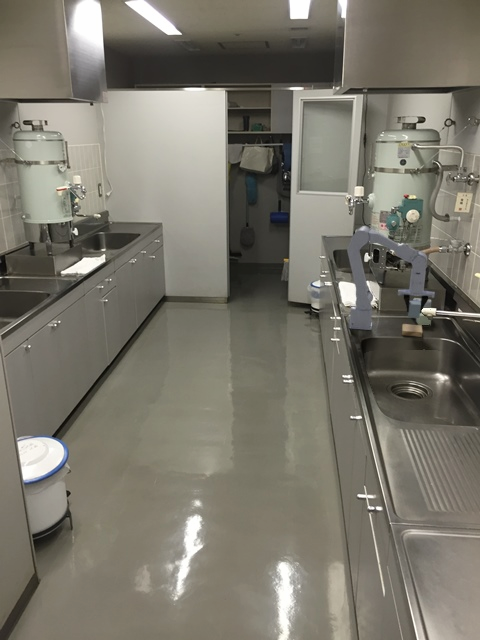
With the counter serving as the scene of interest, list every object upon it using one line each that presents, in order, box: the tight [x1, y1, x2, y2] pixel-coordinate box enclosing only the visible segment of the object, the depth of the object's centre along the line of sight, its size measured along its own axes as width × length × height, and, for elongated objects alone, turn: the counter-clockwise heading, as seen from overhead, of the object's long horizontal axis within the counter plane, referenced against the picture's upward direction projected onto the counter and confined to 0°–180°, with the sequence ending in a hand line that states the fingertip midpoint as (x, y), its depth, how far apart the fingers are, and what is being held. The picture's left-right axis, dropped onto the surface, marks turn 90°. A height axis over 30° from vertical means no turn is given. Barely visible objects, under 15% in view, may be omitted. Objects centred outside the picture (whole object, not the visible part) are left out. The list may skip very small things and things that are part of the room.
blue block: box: [407, 300, 421, 319], centre depth 221 cm, size 4×4×6 cm
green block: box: [415, 313, 432, 325], centre depth 233 cm, size 5×6×5 cm
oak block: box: [401, 323, 423, 338], centre depth 224 cm, size 8×8×2 cm
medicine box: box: [412, 297, 432, 308], centre depth 239 cm, size 8×4×9 cm, turn 65°
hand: (414, 312), depth 221 cm, fingers closed on blue block, 4 cm apart
